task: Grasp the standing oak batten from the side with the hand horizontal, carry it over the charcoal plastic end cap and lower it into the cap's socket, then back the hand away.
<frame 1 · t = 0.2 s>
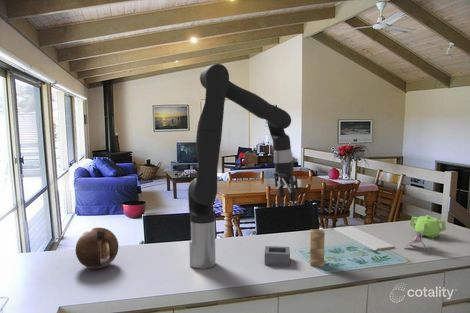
hand: (287, 199, 148), 22 cm above the kitchen counter, tool pointing down, fingers open, 8 cm apart
slat: (316, 264, 137), on the kitchen counter
endcap: (277, 261, 139), on the kitchen counter
lily: (416, 249, 153), on the kitchen counter
wooden sphere: (98, 267, 135), on the kitchen counter
teapot: (426, 236, 169), on the kitchen counter
baseboard molding: (360, 239, 166), on the kitchen counter
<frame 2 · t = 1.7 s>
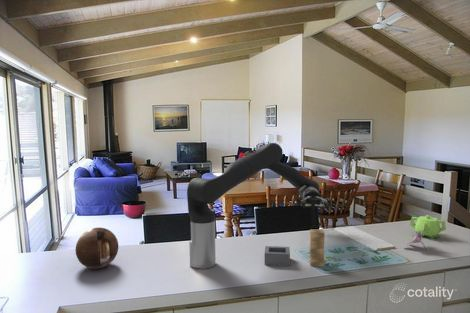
hand: (315, 205, 146), 20 cm above the kitchen counter, tool horizontal, fingers open, 8 cm apart
nothing on the kitchen counter moved.
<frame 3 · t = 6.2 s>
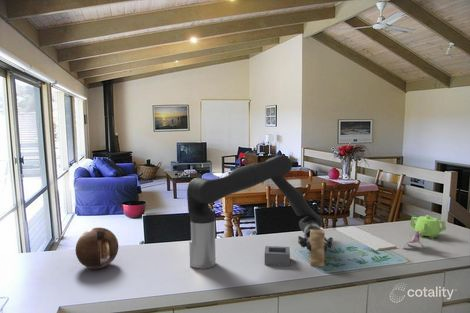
hand: (317, 248, 133), 7 cm above the kitchen counter, tool horizontal, fingers closed on slat, 5 cm apart
slat: (316, 264, 137), on the kitchen counter, touching gripper
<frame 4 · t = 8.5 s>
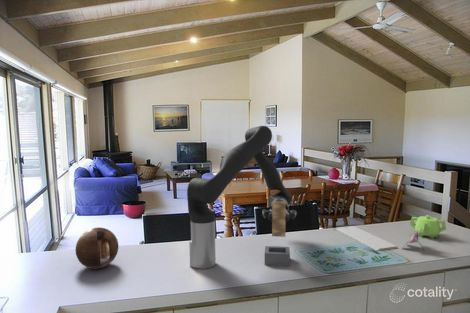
hand: (278, 219, 135), 18 cm above the kitchen counter, tool horizontal, fingers closed on slat, 5 cm apart
slat: (278, 235, 138), point 11 cm above the kitchen counter, touching gripper
when the fingers open (9 cm above the kitchen counter, at t = 11.1 s): slat drops 2 cm, resting on endcap.
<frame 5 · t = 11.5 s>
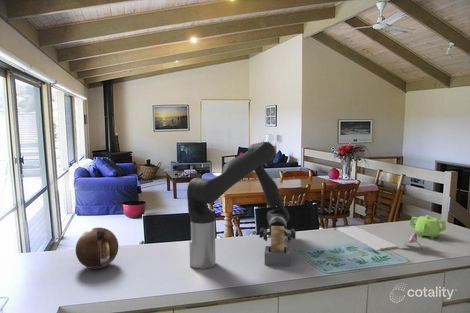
hand: (277, 239, 137), 10 cm above the kitchen counter, tool horizontal, fingers open, 8 cm apart
slat: (277, 259, 139), point 1 cm above the kitchen counter, touching endcap
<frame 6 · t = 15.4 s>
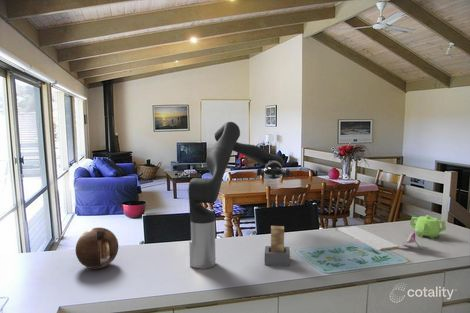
hand: (273, 174, 150), 32 cm above the kitchen counter, tool horizontal, fingers open, 8 cm apart
at the end: slat 0.1 cm off-centre on the endcap, point 0.6 cm above the endcap's base; slat tilted 0°; the gripper is holding nothing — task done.
